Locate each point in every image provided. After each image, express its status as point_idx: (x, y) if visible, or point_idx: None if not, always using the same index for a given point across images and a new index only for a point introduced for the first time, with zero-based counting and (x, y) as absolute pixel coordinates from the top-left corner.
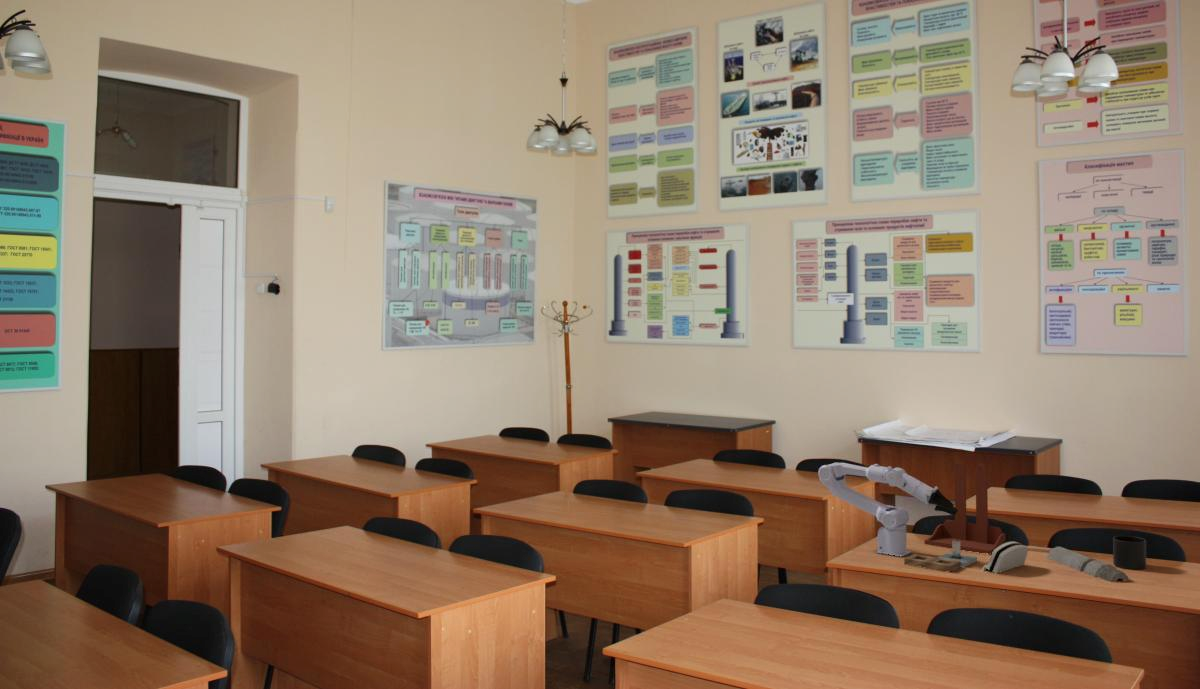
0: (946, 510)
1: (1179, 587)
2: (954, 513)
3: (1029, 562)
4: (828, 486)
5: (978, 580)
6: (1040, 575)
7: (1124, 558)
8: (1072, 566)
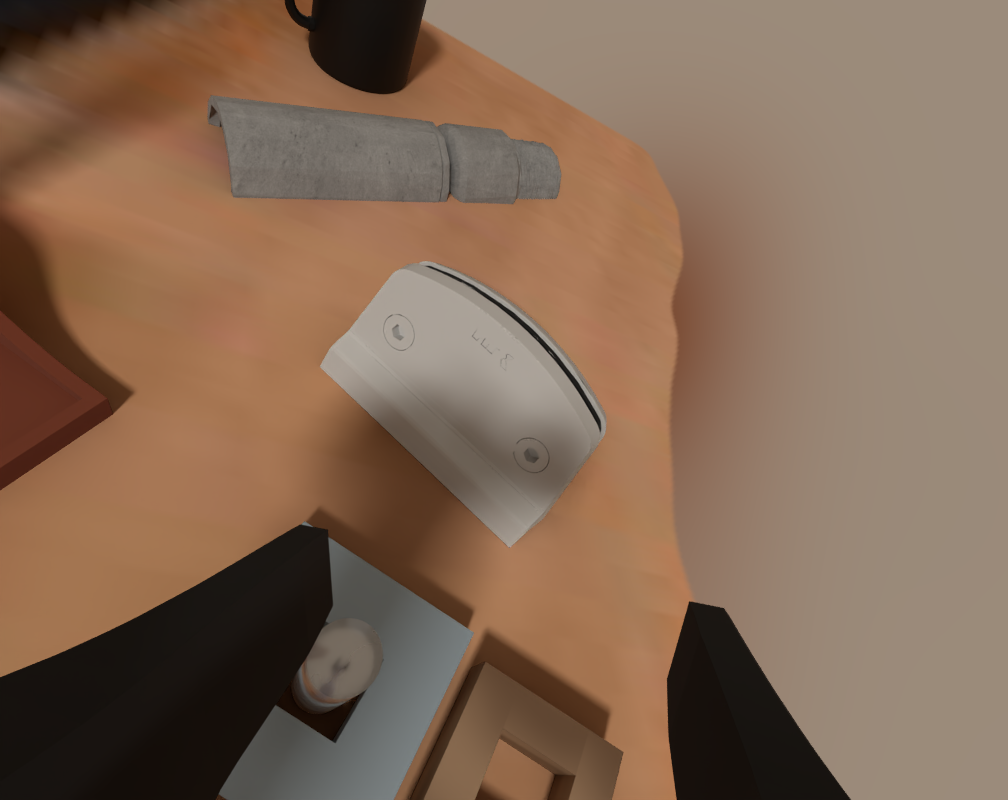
0: (231, 743)
1: (563, 112)
2: (325, 600)
3: (318, 289)
4: None
5: None
6: None
7: (405, 58)
8: (408, 194)
